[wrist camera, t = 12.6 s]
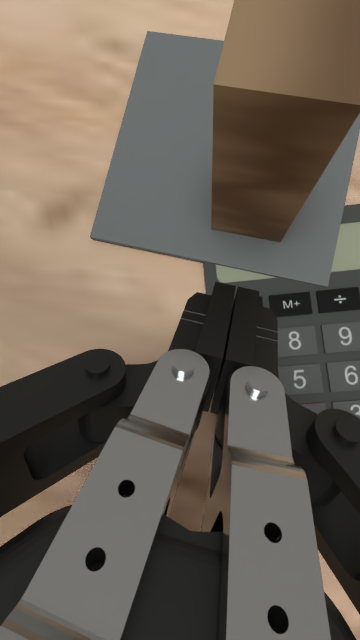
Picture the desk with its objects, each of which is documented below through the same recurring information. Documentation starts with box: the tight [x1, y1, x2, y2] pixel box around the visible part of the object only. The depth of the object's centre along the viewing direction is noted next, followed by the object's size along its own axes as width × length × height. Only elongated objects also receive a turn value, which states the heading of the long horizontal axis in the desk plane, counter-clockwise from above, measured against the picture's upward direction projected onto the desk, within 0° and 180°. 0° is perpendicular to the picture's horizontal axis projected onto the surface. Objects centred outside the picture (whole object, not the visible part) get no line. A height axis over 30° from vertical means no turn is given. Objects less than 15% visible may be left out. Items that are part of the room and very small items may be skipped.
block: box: [211, 0, 360, 242], centre depth 14 cm, size 4×4×10 cm
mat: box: [90, 31, 360, 287], centre depth 19 cm, size 14×14×1 cm
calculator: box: [203, 204, 360, 419], centre depth 18 cm, size 12×1×15 cm
